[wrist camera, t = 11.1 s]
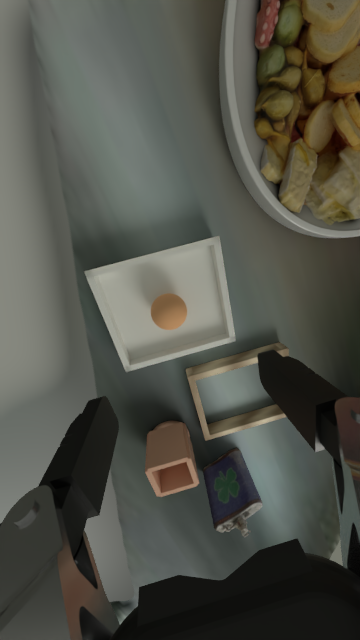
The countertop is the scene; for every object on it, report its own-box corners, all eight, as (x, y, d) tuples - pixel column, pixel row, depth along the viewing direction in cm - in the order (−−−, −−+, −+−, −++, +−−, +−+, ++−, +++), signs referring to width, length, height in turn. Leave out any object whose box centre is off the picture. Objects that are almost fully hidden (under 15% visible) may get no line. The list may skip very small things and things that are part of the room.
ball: (180, 286, 24) (184, 292, 20) (187, 317, 26) (193, 329, 22) (146, 295, 24) (144, 303, 20) (156, 326, 26) (156, 340, 21)
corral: (279, 342, 30) (288, 348, 28) (283, 406, 35) (291, 415, 33) (185, 368, 30) (187, 377, 28) (202, 429, 35) (205, 440, 33)
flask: (236, 445, 37) (265, 516, 27) (243, 452, 38) (274, 523, 28) (199, 469, 38) (215, 546, 28) (207, 475, 39) (225, 551, 29)
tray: (212, 237, 24) (219, 235, 21) (228, 333, 29) (235, 340, 26) (91, 269, 23) (83, 271, 21) (128, 361, 28) (126, 372, 26)
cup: (184, 416, 33) (190, 455, 26) (192, 442, 35) (200, 485, 29) (146, 427, 33) (143, 469, 26) (157, 453, 35) (157, 498, 29)
